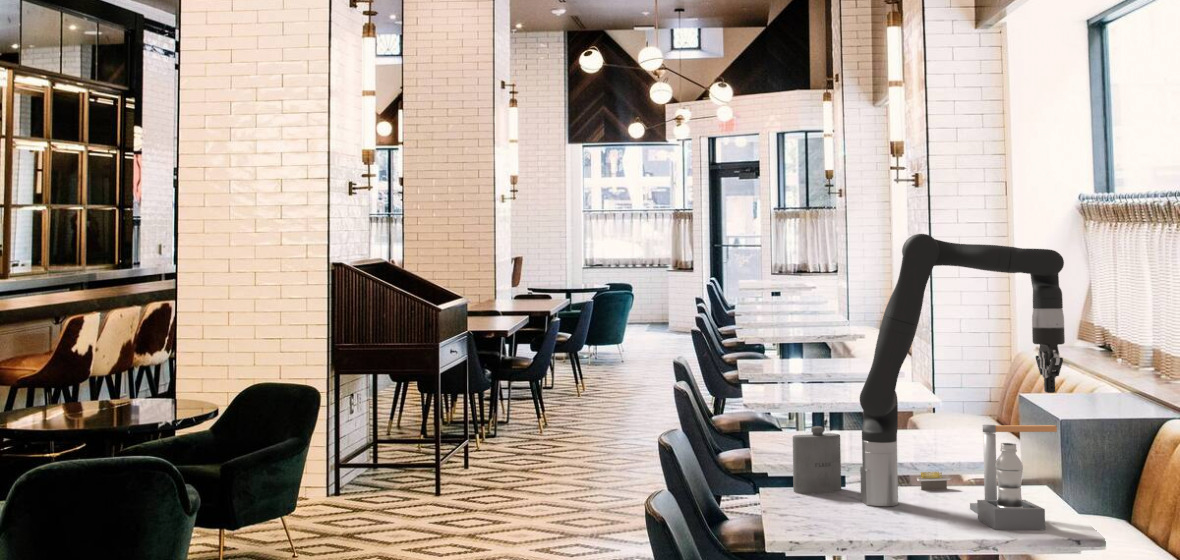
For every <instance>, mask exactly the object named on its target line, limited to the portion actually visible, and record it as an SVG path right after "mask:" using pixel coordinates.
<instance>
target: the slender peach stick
mask: <svg viewBox="0 0 1180 560" xmlns="http://www.w3.org/2000/svg"><path fill="white" fill-rule="evenodd" d="M1057 432H1058V427H1057V425H1055V424H1054V425H1053V424H1048V425H1047V424H1046V425H1045V424H1044V425H1043V424H1033V425H1032V424H1031V425H1029V424H1027V425H1026V424H1025V425H1023V424H1022V425H1021V424H1020V425H1018V424H1017V425H1016V424H1014V425H1013V424H1011V425H1009V424H1008V425H1006V424H1005V425H1004V424H1003V425H1000V424H999V425H995V424H982V433H995V434H996V433H1057Z"/></svg>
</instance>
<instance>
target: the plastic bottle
mask: <svg viewBox="0 0 1180 560" xmlns="http://www.w3.org/2000/svg"><path fill="white" fill-rule="evenodd" d="M999 450H1000V452H1001V454H1000V455H999V456H998V457H997V458H996V464H995V467H996V473H997V500H998V504H997V507H998V508H1023V506H1022V500H1023V499H1022V488H1021V487H1022V479H1023V470H1024V466H1023V465H1024V464H1023V461H1021V459H1020V457H1019V456H1018V455H1017V451H1018V449H1017V444H1016V443H1012V442H1001V443H1000V449H999Z"/></svg>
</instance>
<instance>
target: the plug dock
mask: <svg viewBox="0 0 1180 560" xmlns="http://www.w3.org/2000/svg"><path fill="white" fill-rule="evenodd" d="M982 433H983V434H982V437H983V438H982V439H983V443H982V444H983V446H982V447H983V482H984V485H983V487H984V499H976V501H977V502H969V510H971V511H972V512H974V513H975V514H977V521H979V522H981V523H983V524H985V525H986V526H988V527H989V528H991V529H993V530H995V531H1000V530H1001V531H1006V530H1007V531H1019V530H1020V531H1025V530H1026V531H1037V530H1039V531H1041V530H1042V531H1045V530H1046V509H1045V508H1043V507H1041V506H1039V505H1037V504H1034V503H1032V502H1030V501H1028V500H1026V499H1022V506H1023V508H998V507H997V504H998V479H997V473H996V467H995V464H996V460H997V441H996V438H997V437H996V436H997V435H996V433H985V432H982Z"/></svg>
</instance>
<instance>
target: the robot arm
mask: <svg viewBox="0 0 1180 560" xmlns="http://www.w3.org/2000/svg"><path fill="white" fill-rule="evenodd" d="M901 254H902V259H901V264H900V269H899V270H900V271H899V274H898V275H899V276H898V279H897V282H896V284H895V287H894V289H893V291H892V293H891V296H890V298H889V300H888V302H887V304H886V307H885V310H884V313H883V316H882V318H881V319H882V320H881V322H880V323H881V324H880V326H879V331H878V334H877V340H876V344H875V348H874V354H873V360H872V364H871V367H870V370H869V372H868V374H867V377H866V380H865V382H864V385H863V387H862V389H861V391H860V394H859V404H860V407H861V408H862V411H863V412H862V416H863V417H862V418H863V419H862V420H863V421H862V428H861V456H862V457H861V459H862V465H861V466H860V470H859V471H860V501H861V502H862V503H864V504H865V505H866V506H873V507H874V506H875V507H894V506H897V505H899V482H898V481H899V480H898V479H899V474H898V426H899V425H898V424H899V421H898V420H899V419H898V417H899V416H898V413H899V412H898V410H899V408H898V395H897V392H896V387H897V382H898V378H899V375H900V371H901V368H902V367H903V364H904V362H905V360H906V358H907V356H908V354H909V352H910V350H911V347H912V345H913V342H914V340H915V339H914V338H915V336H916V333H917V331H918V330H917V329H918V327H919V326H918V325H919V322H920V318H921V313H922V309H923V303H924V298H925V291H926V287H927V283H928V281H929V279H930V276H931V275H932V274H931V273H932V272H933V268H934V267H937V266H938V267H939V266H941V267H942V266H946V267H947V266H949V267H960V268H968V269H974V270H975V269H976V270H981V271H987V272H994V273H995V272H996V273H1004V274H1006V273H1007V274H1016V273H1017V274H1019V273H1021V274H1028V275H1030V281H1031V282H1030V283H1031V285H1032V286H1031V287H1032V315H1031V328H1032V333H1031V334H1032V343H1033V344H1034V345H1039V349H1038V352H1037V353H1038V355H1035V361H1036V365H1037V368H1038V372H1039V374H1040V376H1042V378H1043V385H1044V387H1043V388H1044V393H1048V394H1054V393H1056V378H1057V377H1059V376H1060V373H1061V369H1062V367H1063V366H1062V365H1063V363H1064V359H1063V357H1060V351H1059V345H1064V344H1065V340H1066V339H1065V315H1064V311H1063V310H1064V309H1063V308H1064V306H1063V291H1062V289H1061V287H1060V280H1059V278H1060V277H1059V275H1060V272H1061V271H1062V270H1063V268H1064V264H1065V260H1064V257H1063V256H1062V255H1061V254H1060V253H1059V252H1058V251H1056V250H1054V249H1048V248H1021V247H1016V246H1008V245H996V244H995V245H994V244H980V243H979V244H976V243H975V244H972V243H971V244H968V243H956V242H950V241H949V242H948V241H943V240H940V239H935V238H934V236H931V235H929V234H927V233H916V234H914V235H911V236H910V237H908V238H907V239H906V240H905V241H904V243H903V245H902V249H901Z"/></svg>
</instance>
